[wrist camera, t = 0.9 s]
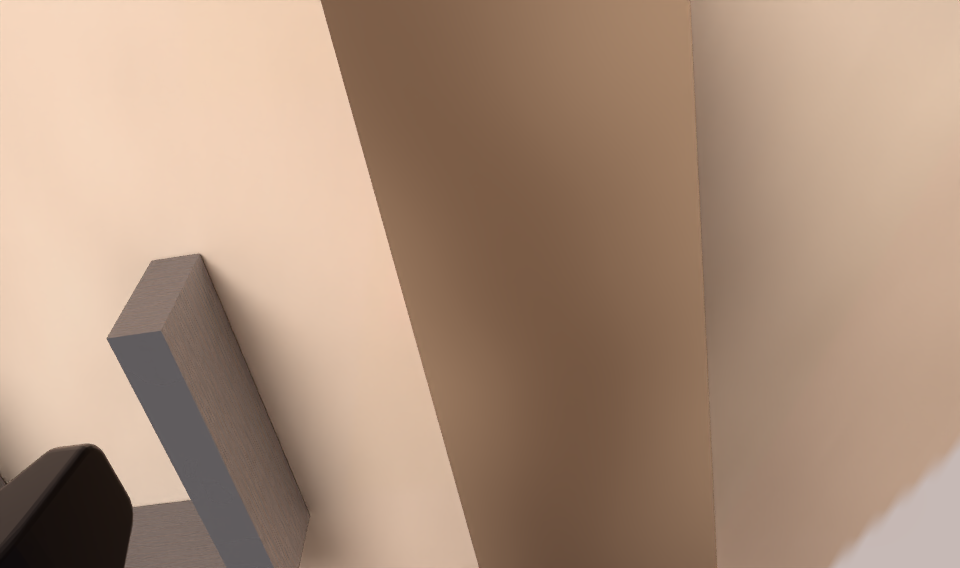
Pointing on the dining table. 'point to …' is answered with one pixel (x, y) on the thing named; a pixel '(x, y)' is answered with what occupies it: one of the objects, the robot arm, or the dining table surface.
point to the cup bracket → (204, 431)
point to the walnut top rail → (548, 263)
